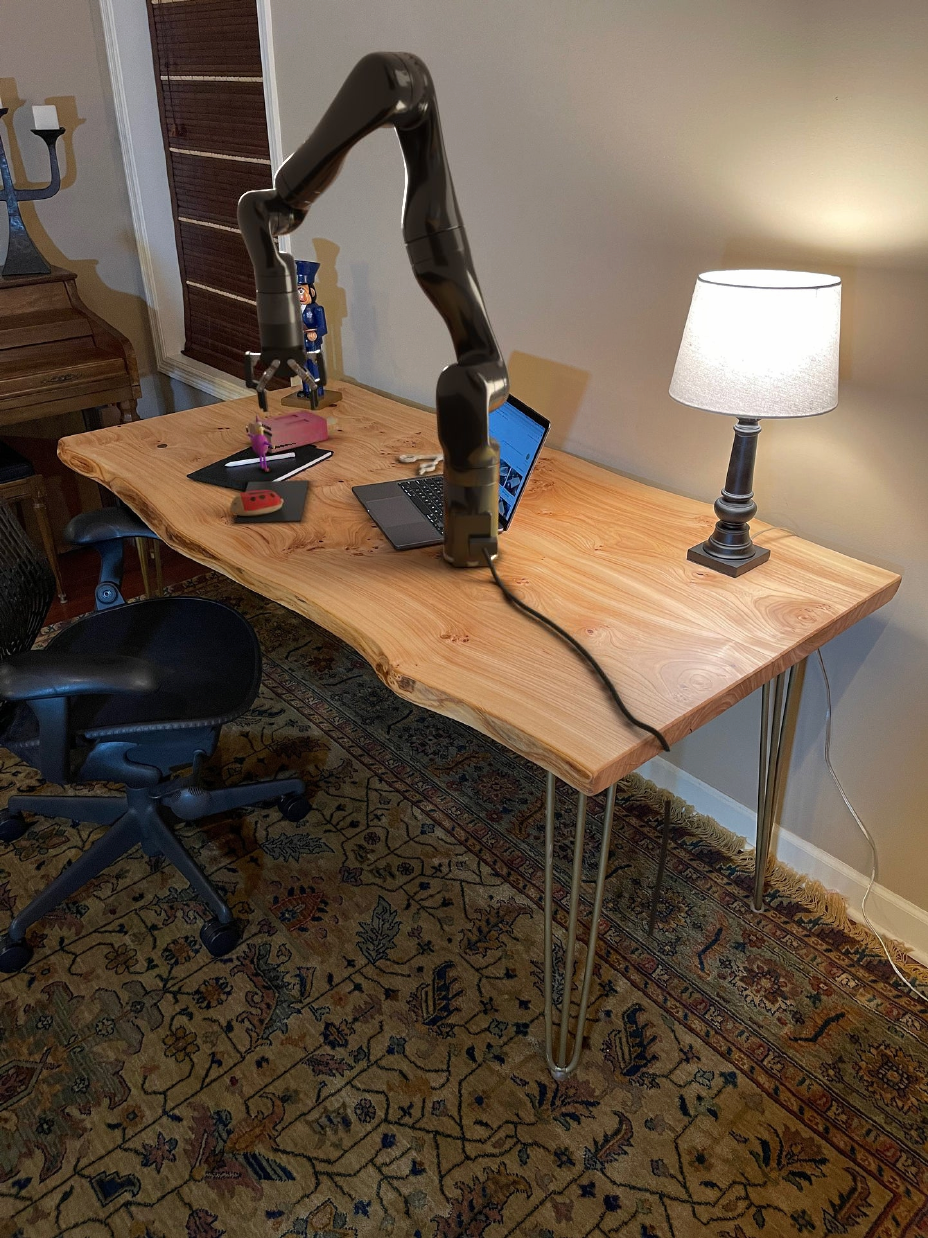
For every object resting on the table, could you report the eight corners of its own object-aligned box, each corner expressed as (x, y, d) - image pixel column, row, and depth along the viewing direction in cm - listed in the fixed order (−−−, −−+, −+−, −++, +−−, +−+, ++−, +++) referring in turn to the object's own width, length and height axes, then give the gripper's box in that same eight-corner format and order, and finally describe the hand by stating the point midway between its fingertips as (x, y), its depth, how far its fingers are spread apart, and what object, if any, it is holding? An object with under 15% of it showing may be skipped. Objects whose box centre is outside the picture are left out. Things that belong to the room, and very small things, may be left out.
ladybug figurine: (227, 508, 170) (225, 490, 168) (279, 500, 174) (277, 483, 172) (234, 521, 165) (232, 503, 163) (287, 513, 168) (286, 495, 166)
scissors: (391, 457, 193) (464, 438, 204) (391, 461, 193) (464, 442, 204) (420, 472, 186) (494, 451, 196) (420, 475, 186) (494, 454, 197)
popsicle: (346, 414, 206) (270, 432, 195) (347, 434, 209) (272, 453, 197) (323, 405, 212) (248, 422, 201) (325, 425, 215) (250, 443, 203)
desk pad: (300, 521, 166) (300, 520, 165) (234, 523, 165) (234, 521, 165) (308, 481, 183) (308, 480, 183) (248, 483, 182) (248, 481, 182)
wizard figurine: (283, 476, 185) (277, 419, 179) (269, 480, 184) (263, 422, 178) (256, 461, 193) (249, 406, 187) (242, 465, 191) (235, 409, 185)
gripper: (235, 323, 152) (247, 417, 159) (320, 320, 153) (328, 414, 161) (240, 314, 158) (252, 405, 166) (322, 312, 159) (330, 403, 167)
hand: (289, 410), depth 163 cm, fingers open, 8 cm apart
